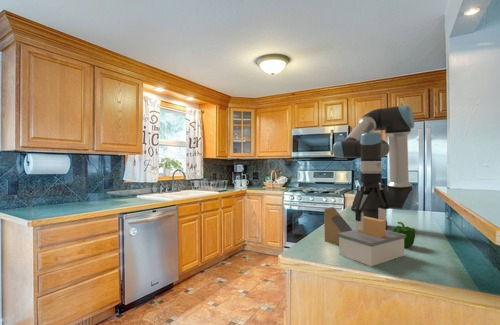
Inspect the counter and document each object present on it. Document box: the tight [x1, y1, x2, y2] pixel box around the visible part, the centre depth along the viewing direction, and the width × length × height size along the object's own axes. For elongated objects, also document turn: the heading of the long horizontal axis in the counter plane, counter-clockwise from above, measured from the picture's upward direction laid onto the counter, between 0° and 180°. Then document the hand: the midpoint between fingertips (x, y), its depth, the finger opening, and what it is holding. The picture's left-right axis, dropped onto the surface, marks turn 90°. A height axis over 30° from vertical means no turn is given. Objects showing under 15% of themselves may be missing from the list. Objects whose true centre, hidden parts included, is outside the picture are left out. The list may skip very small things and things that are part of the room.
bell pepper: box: [391, 221, 416, 248], centre depth 116 cm, size 8×8×10 cm
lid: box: [337, 216, 406, 247], centre depth 105 cm, size 21×15×8 cm
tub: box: [338, 237, 405, 267], centre depth 105 cm, size 20×14×7 cm
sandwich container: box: [323, 206, 353, 246], centre depth 121 cm, size 9×15×15 cm, turn 44°
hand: (371, 227), depth 105 cm, fingers open, 13 cm apart
